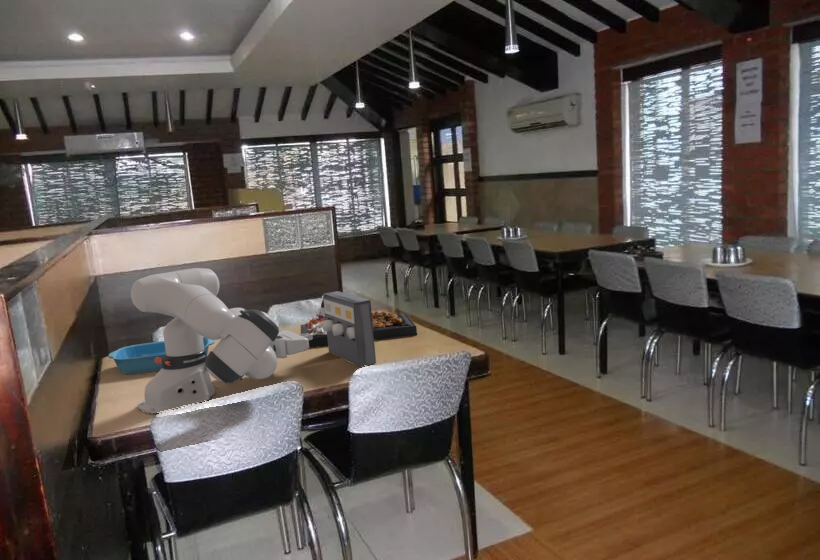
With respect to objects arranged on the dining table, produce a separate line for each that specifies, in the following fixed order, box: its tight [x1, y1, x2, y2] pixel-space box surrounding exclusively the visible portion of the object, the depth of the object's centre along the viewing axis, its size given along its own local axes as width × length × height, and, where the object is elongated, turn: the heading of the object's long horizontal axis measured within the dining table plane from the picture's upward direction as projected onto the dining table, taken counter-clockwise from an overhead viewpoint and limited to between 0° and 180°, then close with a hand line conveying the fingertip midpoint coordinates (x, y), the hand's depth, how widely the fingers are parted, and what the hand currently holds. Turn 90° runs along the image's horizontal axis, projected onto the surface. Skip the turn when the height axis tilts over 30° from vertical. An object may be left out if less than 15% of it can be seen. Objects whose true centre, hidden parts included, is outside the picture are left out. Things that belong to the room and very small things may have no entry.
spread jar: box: [316, 295, 325, 320], centre depth 285 cm, size 12×11×12 cm
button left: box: [322, 319, 334, 332], centre depth 225 cm, size 4×4×4 cm
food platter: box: [300, 310, 418, 348], centre depth 254 cm, size 45×25×10 cm, turn 100°
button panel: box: [322, 290, 377, 368], centre depth 219 cm, size 6×26×22 cm, turn 31°
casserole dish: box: [107, 337, 216, 375], centre depth 232 cm, size 37×22×7 cm, turn 108°
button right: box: [347, 327, 355, 339], centre depth 211 cm, size 4×4×4 cm
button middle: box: [332, 323, 344, 336], centre depth 218 cm, size 4×4×4 cm
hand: (311, 336), depth 212 cm, fingers closed
